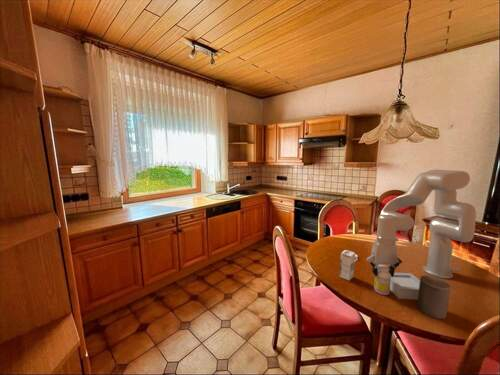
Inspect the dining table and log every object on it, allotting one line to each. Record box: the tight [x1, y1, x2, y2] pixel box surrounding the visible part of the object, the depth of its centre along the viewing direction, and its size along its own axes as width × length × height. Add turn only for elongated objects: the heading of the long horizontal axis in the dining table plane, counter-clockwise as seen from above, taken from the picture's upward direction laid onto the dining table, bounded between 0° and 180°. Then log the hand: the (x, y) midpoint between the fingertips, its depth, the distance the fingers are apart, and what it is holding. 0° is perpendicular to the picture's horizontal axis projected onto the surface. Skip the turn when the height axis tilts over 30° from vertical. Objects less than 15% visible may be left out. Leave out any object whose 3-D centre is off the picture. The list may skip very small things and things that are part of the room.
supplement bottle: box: [373, 264, 391, 296], centre depth 101 cm, size 7×7×13 cm
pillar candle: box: [416, 274, 451, 320], centre depth 88 cm, size 10×10×15 cm
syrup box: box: [338, 249, 356, 281], centre depth 113 cm, size 6×6×14 cm
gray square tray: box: [390, 272, 420, 301], centre depth 102 cm, size 14×14×5 cm
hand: (382, 274), depth 101 cm, fingers closed on supplement bottle, 6 cm apart
